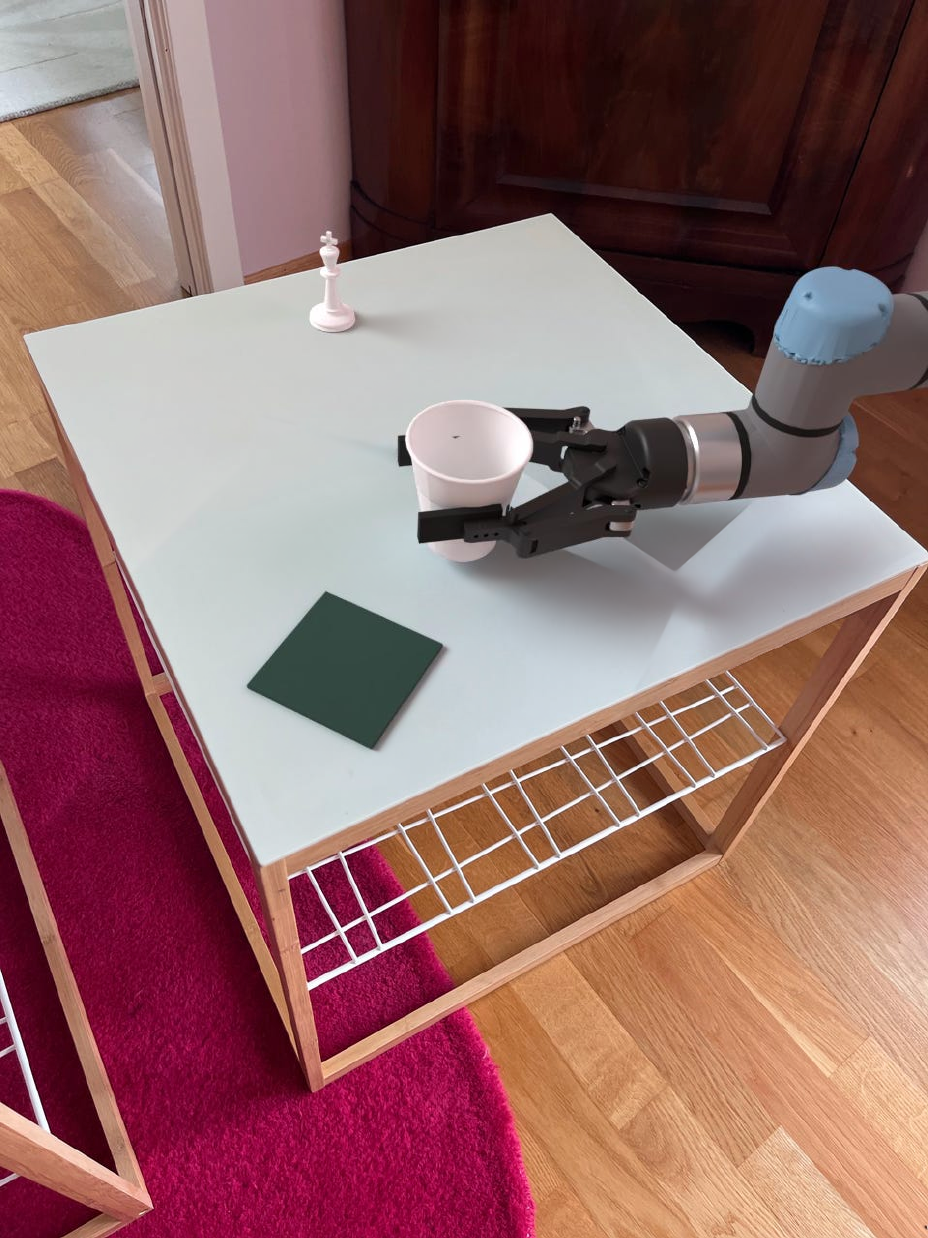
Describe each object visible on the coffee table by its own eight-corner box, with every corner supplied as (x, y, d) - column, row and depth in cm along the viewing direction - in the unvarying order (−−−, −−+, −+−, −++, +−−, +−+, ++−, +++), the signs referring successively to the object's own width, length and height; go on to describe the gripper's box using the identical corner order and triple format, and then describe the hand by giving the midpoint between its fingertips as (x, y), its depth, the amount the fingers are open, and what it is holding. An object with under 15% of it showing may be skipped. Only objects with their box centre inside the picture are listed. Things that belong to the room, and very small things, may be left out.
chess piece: (320, 302, 105) (315, 215, 97) (361, 312, 104) (360, 225, 97) (302, 326, 102) (296, 238, 94) (345, 336, 101) (342, 249, 94)
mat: (442, 646, 76) (443, 643, 75) (371, 749, 69) (371, 747, 69) (325, 593, 78) (325, 590, 78) (246, 688, 72) (246, 685, 72)
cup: (541, 540, 82) (559, 442, 74) (462, 600, 77) (472, 502, 69) (458, 483, 86) (466, 382, 77) (378, 536, 81) (378, 435, 73)
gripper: (707, 584, 76) (431, 618, 72) (624, 418, 89) (386, 439, 85) (734, 517, 71) (435, 550, 66) (641, 350, 83) (386, 369, 79)
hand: (408, 488), depth 76 cm, fingers closed on cup, 8 cm apart
